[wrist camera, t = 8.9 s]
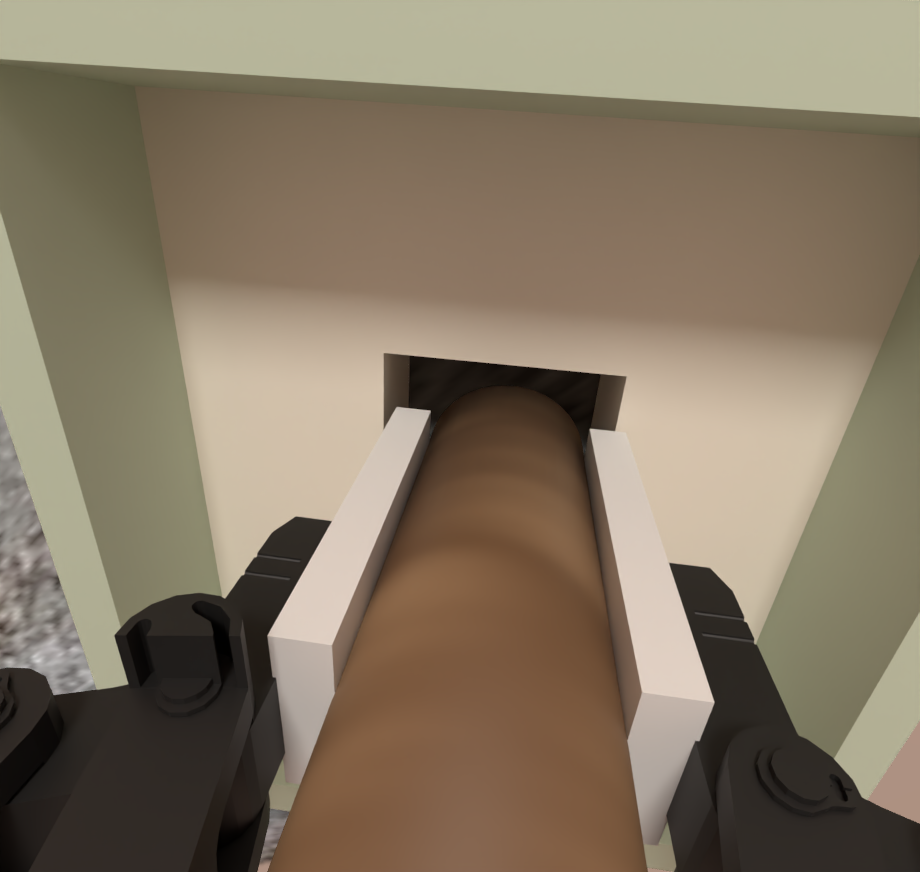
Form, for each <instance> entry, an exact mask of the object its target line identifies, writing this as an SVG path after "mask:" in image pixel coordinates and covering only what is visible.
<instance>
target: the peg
mask: <svg viewBox="0 0 920 872" xmlns="http://www.w3.org/2000/svg"><path fill="white" fill-rule="evenodd" d="M267 872H648V871H647V864H646V857H645V851H644V844H643V838H642V831H641V825H640V818H639V812H638V805H637V799H636V792H635V786H634V779H633V773H632V766H631V760H630V753H629V747H628V742H627V736H626V729H625V723H624V716H623V710H622V703H621V697H620V690H619V684H618V677H617V671H616V664H615V658H614V651H613V645H612V638H611V632H610V625H609V619H608V612H607V606H606V599H605V593H604V586H603V579H602V573H601V566H600V560H599V553H598V547H597V540H596V534H595V527H594V521H593V514H592V508H591V501H590V495H589V488H588V482H587V475H586V469H585V462H584V454H583V447H582V442H581V438H580V435H579V432H578V429H577V428H576V426H575V424H574V422H573V420H572V419H571V418H570V416H569V415H568V413H567V412H566V411H565V410H564V409H563V408H562V407H561V406H560V405H558V404H557V403H556V402H554V401H553V400H552V399H550V398H548V397H547V396H545V395H543V394H541V393H539V392H537V391H534V390H531V389H528V388H524V387H519V386H511V385H498V386H489V387H484V388H480V389H478V390H475V391H472V392H470V393H468V394H466V395H464V396H462V397H460V398H459V399H458V400H456V401H455V402H453V403H452V404H451V405H450V406H449V407H448V408H447V409H446V410H445V411H444V413H443V414H442V415H441V417H440V418H439V420H438V421H437V423H436V425H435V428H434V430H433V432H432V435H431V438H430V441H429V444H428V447H427V449H426V452H425V455H424V457H423V460H422V463H421V465H420V468H419V471H418V473H417V476H416V479H415V481H414V484H413V487H412V489H411V492H410V495H409V497H408V500H407V503H406V505H405V508H404V511H403V513H402V516H401V519H400V521H399V524H398V527H397V529H396V532H395V535H394V537H393V540H392V543H391V545H390V548H389V551H388V553H387V556H386V559H385V561H384V564H383V567H382V569H381V572H380V575H379V577H378V580H377V583H376V585H375V588H374V591H373V593H372V596H371V599H370V601H369V604H368V607H367V609H366V612H365V615H364V617H363V620H362V623H361V625H360V628H359V631H358V633H357V636H356V639H355V641H354V644H353V647H352V649H351V652H350V655H349V657H348V660H347V663H346V665H345V668H344V671H343V673H342V676H341V679H340V681H339V684H338V686H337V689H336V692H335V694H334V697H333V699H332V701H331V704H330V706H329V709H328V712H327V714H326V717H325V720H324V722H323V725H322V728H321V730H320V733H319V736H318V738H317V741H316V744H315V746H314V749H313V752H312V754H311V757H310V760H309V762H308V765H307V768H306V770H305V773H304V776H303V778H302V781H301V784H300V786H299V789H298V792H297V794H296V797H295V799H294V802H293V805H292V807H291V810H290V813H289V815H288V818H287V821H286V823H285V826H284V829H283V831H282V834H281V837H280V839H279V842H278V845H277V847H276V850H275V853H274V855H273V858H272V861H271V863H270V866H269V869H268V871H267Z"/></svg>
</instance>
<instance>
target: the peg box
mask: <svg viewBox="0 0 920 872" xmlns="http://www.w3.org/2000/svg"><path fill="white" fill-rule="evenodd" d="M410 355H411V356H421V357H432V358H442V359H452V360H462V361H473V362H483V363H493V364H503V365H514V366H524V367H534V368H544V369H555V370H565V371H575V372H586V373H596V374H601V376H600V381H599V387H598V392H597V397H596V403H595V408H594V413H593V418H592V424H591V429H598V430H608V431H617V432H626V434H627V437H628V440H629V443H630V446H631V449H632V452H633V456H634V459H635V462H636V465H637V468H638V471H639V474H640V477H641V480H642V483H643V486H644V489H645V492H646V495H647V498H648V501H649V504H650V507H651V510H652V513H653V516H654V520H655V523H656V526H657V529H658V532H659V535H660V538H661V541H662V544H663V547H664V550H665V553H666V556H667V559H668V562H669V563H675V564H684V565H692V566H700V567H708V568H711V569H712V570H713V571H714V572H715V573H716V575H717V576H718V577H719V578H720V579H721V580H722V581H723V582H724V583H725V584H726V585H727V586H728V587H729V588H730V589H731V590H732V591H733V593H734V595H735V597H736V599H737V602H738V604H739V606H740V608H741V610H742V613H743V615H744V622H747V624H748V626H749V628H750V630H751V632H752V635H753V637H754V644H756V645H757V646H758V648H759V650H760V652H761V654H762V657H763V659H764V661H765V663H766V666H767V668H768V670H769V672H770V674H771V677H772V679H773V681H774V683H775V685H776V688H777V690H778V692H779V694H780V696H781V699H782V701H783V703H784V705H785V707H786V710H787V712H788V714H789V716H790V718H791V721H792V723H793V725H794V727H795V729H796V732H797V733H798V735H799V736H801V737H803V738H806V739H808V740H809V741H811V742H812V743H813V744H815V745H816V746H818V747H819V748H820V749H822V750H823V751H825V752H826V753H827V754H829V755H830V756H832V757H833V758H834V759H835V761H836V762H837V763H838V764H839V765H840V766H841V767H842V768H843V769H844V771H845V772H846V773H847V774H848V775H849V776H850V777H851V778H852V779H853V781H854V783H855V785H856V787H857V789H858V791H859V793H860V794H861V796H862V798H864V799H866V800H867V799H868V798H869V796H870V794H871V793H872V792H873V790H874V789H875V787H876V786H877V784H878V783H879V781H880V780H881V778H882V777H883V775H884V774H885V772H886V771H887V769H888V767H889V766H890V764H891V763H892V761H893V760H894V759H895V757H896V756H897V754H898V752H899V751H900V749H901V748H902V746H903V745H904V743H905V742H906V740H907V739H908V737H909V736H910V734H911V733H912V731H913V730H914V728H915V727H916V725H917V724H918V722H919V721H920V0H0V406H1V409H2V412H3V415H4V418H5V421H6V423H7V426H8V429H9V432H10V435H11V438H12V441H13V444H14V447H15V450H16V453H17V456H18V459H19V462H20V465H21V468H22V471H23V474H24V476H25V479H26V482H27V485H28V488H29V491H30V494H31V497H32V500H33V503H34V506H35V509H36V512H37V515H38V518H39V521H40V524H41V527H42V529H43V532H44V535H45V538H46V541H47V544H48V547H49V550H50V553H51V556H52V559H53V562H54V565H55V568H56V571H57V574H58V577H59V580H60V582H61V585H62V588H63V591H64V594H65V597H66V600H67V603H68V606H69V609H70V612H71V615H72V618H73V621H74V624H75V627H76V630H77V633H78V635H79V638H80V641H81V644H82V647H83V650H84V653H85V656H86V659H87V662H88V665H89V668H90V671H91V674H92V677H93V680H94V683H95V686H96V688H97V690H98V689H106V688H113V687H118V686H123V685H127V684H128V681H127V678H126V674H125V671H124V667H123V664H122V661H121V657H120V654H119V651H118V647H117V644H116V640H115V637H114V635H115V634H116V633H117V632H118V630H119V629H120V628H121V627H122V626H123V625H124V624H125V623H126V622H127V621H128V619H129V618H131V617H132V616H134V615H135V614H137V613H138V612H140V611H142V610H143V609H145V608H146V607H148V606H149V605H151V604H153V603H156V602H159V601H162V600H165V599H167V598H170V597H173V596H176V595H184V594H193V593H205V594H211V595H217V596H221V597H223V598H226V597H227V595H228V594H229V592H230V591H231V590H232V588H233V587H234V585H235V584H236V582H237V581H238V580H239V578H240V577H241V575H244V574H245V570H246V568H247V567H248V566H249V564H250V563H251V561H252V560H253V558H254V557H257V553H258V551H259V550H260V549H261V547H262V546H263V544H264V543H265V542H266V540H267V539H268V537H269V536H270V534H271V533H272V532H273V531H275V530H276V529H278V528H279V527H281V526H282V525H284V524H285V523H287V522H288V521H290V520H291V519H293V518H294V517H296V516H297V517H305V518H313V519H321V520H328V521H332V520H333V519H334V517H335V515H336V513H337V512H338V510H339V508H340V506H341V505H342V503H343V501H344V499H345V497H346V496H347V494H348V492H349V490H350V489H351V487H352V485H353V483H354V482H355V480H356V478H357V476H358V474H359V473H360V471H361V469H362V467H363V466H364V464H365V462H366V460H367V459H368V457H369V455H370V453H371V451H372V450H373V448H374V446H375V444H376V443H377V441H378V439H379V437H380V436H381V434H382V432H383V430H384V428H385V427H386V425H387V423H388V421H389V420H390V418H391V416H392V414H393V412H394V411H395V409H396V407H402V408H409V368H410ZM299 786H300V784H294V783H288V782H286V780H285V772H284V764H283V759H282V762H281V764H280V766H279V769H278V771H277V774H276V776H275V778H274V781H273V783H272V785H271V788H270V790H269V798H270V808H272V809H278V810H285V811H290V810H291V807H292V805H293V802H294V799H295V797H296V794H297V792H298V789H299ZM644 851H645V857H646V864H647V868H654V869H660V870H666V871H673V872H674V870H675V868H676V861H675V856H674V851H673V846H672V841H671V836H670V831H669V826H668V821H667V824H666V826H665V829H664V831H663V834H662V836H661V839H660V842H659V844H658V846H654V845H647V844H644Z"/></svg>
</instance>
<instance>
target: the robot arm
mask: <svg viewBox="0 0 920 872" xmlns="http://www.w3.org/2000/svg"><path fill="white" fill-rule="evenodd" d="M430 422H431V411H429V410H420V409H411V408H402V407H396V409H395V411H394V412H393V414H392V416H391V418H390V420H389V421H388V423H387V425H386V427H385V428H384V430H383V432H382V434H381V436H380V437H379V439H378V441H377V443H376V444H375V446H374V448H373V450H372V451H371V453H370V455H369V457H368V459H367V460H366V462H365V464H364V466H363V467H362V469H361V471H360V473H359V474H358V476H357V478H356V480H355V482H354V483H353V485H352V487H351V489H350V490H349V492H348V494H347V496H346V497H345V499H344V501H343V503H342V505H341V506H340V508H339V510H338V512H337V513H336V515H335V517H334V519H333V520H332V521H328V520H321V519H313V518H305V517H297V516H296V517H294V518H293V519H291V520H290V521H288V522H287V523H285V524H284V525H282V526H281V527H279V528H278V529H276V530H275V531H273V532H272V533H271V534H270V536H269V537H268V539H267V540H266V542H265V543H264V544H263V546H262V547H261V549H260V550H259V551H258V553H257V557H254V558H253V560H252V561H251V563H250V564H249V566H248V567H247V568H246V570H245V574H244V575H241V577H240V578H239V580H238V581H237V582H236V584H235V585H234V587H233V588H232V590H231V591H230V592H229V594H228V595H227V597H226V598H223V597H221V596H217V595H211V594H205V593H193V594H184V595H176V596H173V597H170V598H167V599H165V600H162V601H159V602H156V603H153V604H151V605H149V606H148V607H146V608H145V609H143V610H142V611H140V612H138V613H137V614H135V615H134V616H132V617H131V618H129V619H128V621H127V622H126V623H125V624H124V625H123V626H122V627H121V628H120V629H119V630H118V632H117V633H116V634H115V635H114V637H115V640H116V644H117V647H118V651H119V654H120V657H121V661H122V664H123V667H124V671H125V674H126V678H127V681H128V684H127V685H123V686H118V687H113V688H106V689H98V690H91V691H83V692H76V693H68V694H60V695H53V693H52V690H51V688H50V686H49V684H48V681H47V679H46V677H45V676H44V675H42V674H40V673H38V672H36V671H34V670H32V669H28V668H4V669H0V872H257V871H258V867H259V862H260V858H261V854H262V850H263V845H264V841H265V837H266V833H267V828H268V824H269V815H270V798H269V790H270V788H271V785H272V783H273V781H274V778H275V776H276V774H277V771H278V769H279V766H280V764H281V762H282V759H283V764H284V772H285V780H286V782H288V783H294V784H301V781H302V778H303V776H304V773H305V770H306V768H307V765H308V762H309V760H310V757H311V754H312V752H313V749H314V746H315V744H316V741H317V738H318V736H319V733H320V730H321V728H322V725H323V722H324V720H325V717H326V714H327V712H328V709H329V706H330V704H331V701H332V699H333V697H334V694H335V692H336V689H337V686H338V684H339V681H340V679H341V676H342V673H343V671H344V668H345V665H346V663H347V660H348V657H349V655H350V652H351V649H352V647H353V644H354V641H355V639H356V636H357V633H358V631H359V628H360V625H361V623H362V620H363V617H364V615H365V612H366V609H367V607H368V604H369V601H370V599H371V596H372V593H373V591H374V588H375V585H376V583H377V580H378V577H379V575H380V572H381V569H382V567H383V564H384V561H385V559H386V556H387V553H388V551H389V548H390V545H391V543H392V540H393V537H394V535H395V532H396V529H397V527H398V524H399V521H400V519H401V516H402V513H403V511H404V508H405V505H406V503H407V500H408V497H409V495H410V492H411V489H412V487H413V484H414V481H415V479H416V476H417V473H418V471H419V468H420V465H421V463H422V460H423V457H424V455H425V452H426V449H427V447H428V444H429V441H430ZM584 462H585V469H586V475H587V482H588V488H589V495H590V501H591V508H592V514H593V521H594V527H595V534H596V540H597V547H598V553H599V560H600V566H601V573H602V579H603V586H604V593H605V599H606V606H607V612H608V619H609V625H610V632H611V638H612V645H613V651H614V658H615V664H616V671H617V677H618V684H619V690H620V697H621V703H622V710H623V716H624V723H625V729H626V736H627V742H628V747H629V753H630V760H631V766H632V773H633V779H634V786H635V792H636V799H637V805H638V812H639V818H640V825H641V831H642V838H643V844H647V845H654V846H658V844H659V842H660V839H661V836H662V834H663V831H664V829H665V826H666V824H667V821H668V826H669V831H670V836H671V841H672V846H673V851H674V856H675V861H676V868H675V870H674V872H920V824H919V823H917V822H914V821H912V820H910V819H907V818H905V817H903V816H900V815H898V814H896V813H893V812H891V811H889V810H886V809H884V808H882V807H880V806H878V805H876V804H874V803H872V802H870V801H868V800H866V799H864V798H862V796H861V794H860V793H859V791H858V789H857V787H856V785H855V783H854V781H853V779H852V778H851V777H850V776H849V775H848V774H847V773H846V772H845V771H844V769H843V768H842V767H841V766H840V765H839V764H838V763H837V762H836V761H835V759H834V758H833V757H832V756H830V755H829V754H827V753H826V752H825V751H823V750H822V749H820V748H819V747H818V746H816V745H815V744H813V743H812V742H811V741H809V740H808V739H806V738H803V737H801V736H799V735H798V733H797V732H796V729H795V727H794V725H793V723H792V721H791V718H790V716H789V714H788V712H787V710H786V707H785V705H784V703H783V701H782V699H781V696H780V694H779V692H778V690H777V688H776V685H775V683H774V681H773V679H772V677H771V674H770V672H769V670H768V668H767V666H766V663H765V661H764V659H763V657H762V654H761V652H760V650H759V648H758V646H757V645H756V644H754V637H753V635H752V632H751V630H750V628H749V626H748V624H747V622H744V615H743V613H742V610H741V608H740V606H739V604H738V602H737V599H736V597H735V595H734V593H733V591H732V590H731V589H730V588H729V587H728V586H727V585H726V584H725V583H724V582H723V581H722V580H721V579H720V578H719V577H718V576H717V575H716V573H715V572H714V571H713V570H712V569H711V568H708V567H700V566H692V565H684V564H675V563H669V562H668V559H667V556H666V553H665V550H664V547H663V544H662V541H661V538H660V535H659V532H658V529H657V526H656V523H655V520H654V516H653V513H652V510H651V507H650V504H649V501H648V498H647V495H646V492H645V489H644V486H643V483H642V480H641V477H640V474H639V471H638V468H637V465H636V462H635V459H634V456H633V452H632V449H631V446H630V443H629V440H628V437H627V434H626V432H617V431H608V430H598V429H589V434H588V440H587V445H586V450H585V456H584Z"/></svg>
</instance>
